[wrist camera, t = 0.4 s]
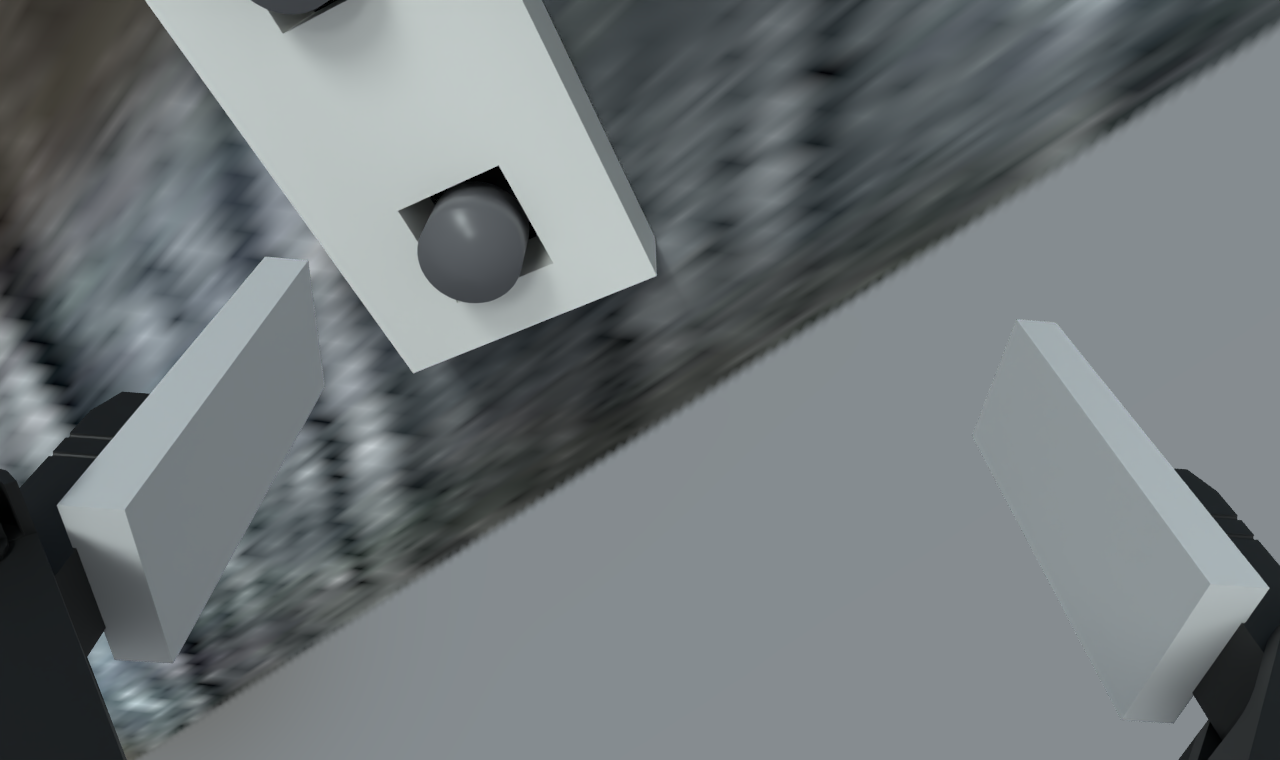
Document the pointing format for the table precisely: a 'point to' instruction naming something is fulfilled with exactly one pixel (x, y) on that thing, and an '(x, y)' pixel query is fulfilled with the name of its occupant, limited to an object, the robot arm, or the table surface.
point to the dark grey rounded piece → (290, 5)
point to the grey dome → (474, 242)
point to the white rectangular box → (424, 148)
